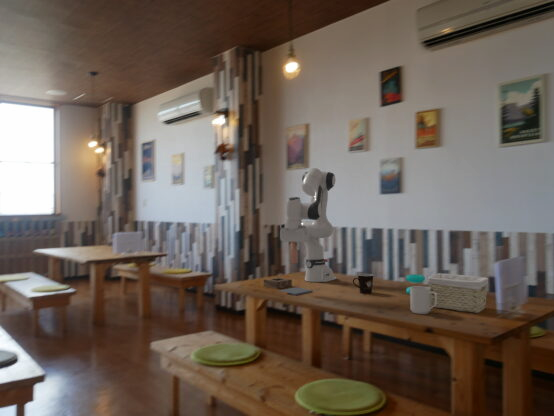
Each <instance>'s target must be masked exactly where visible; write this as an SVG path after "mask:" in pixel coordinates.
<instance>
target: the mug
mask: <svg viewBox="0 0 554 416" xmlns="http://www.w3.org/2000/svg"><path fill="white" fill-rule="evenodd" d="M409 287H410V294H409V299H410V300H409V303H410V306H409V309H410V311H411V312H412V313H414V314H418V315H427V314H429V313H430V312H431V311H432V310H431V309H433V308H435V307H434V306H436V305H437V293H435V292H431V291H430V288H429V286H424V285H413V286H412V287H411V286H409ZM431 293H434V294H435V304H434V306H431Z"/></svg>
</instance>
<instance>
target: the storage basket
mask: <svg viewBox="0 0 554 416" xmlns="http://www.w3.org/2000/svg"><path fill="white" fill-rule="evenodd" d="M427 283H428V287H429V288H430V291H431V292H435V293H437V305H436V306H434V304H435V294H434V293H431V307H432V306H434V307H433V308H439V309H444V310H454V311H458V312H469V313H476V314H478V313H480V312H482V311H483V310H484V309H485V308H486V306H487V303H486V302H487V295H488V293H487V291H488V290H487V289H488V284H489V278H488V277H483V276H474V275H465V274H464V275H462V274H456V273H455V274H454V273H441V272H438V273H436V274H432V275H430V276H429V277H428V278H427Z"/></svg>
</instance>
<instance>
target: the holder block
mask: <svg viewBox="0 0 554 416" xmlns="http://www.w3.org/2000/svg"><path fill="white" fill-rule="evenodd" d="M263 287H265V288H271V289H276V290H281V289H284V288H285V289H286V288H292V287H293V280H292V279H291V278H286V277H285V278H284V277H272V278H271V277H270V278H267V279H263Z"/></svg>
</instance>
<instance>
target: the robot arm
mask: <svg viewBox="0 0 554 416" xmlns="http://www.w3.org/2000/svg"><path fill="white" fill-rule="evenodd" d="M301 179H302V180H301V181H302V183H301V188H302V191H303V192H304V194H306V195H308V196H310V197H311V198H310V202H302V200H301V198H300V197H299V196H293V197H289V198H287V200H286V206H285V207H286V208H285V215H286V219H285V220H286V221H285V222H284V223H282V224H280V225H279V227H280V230H279V231H280V232H279V240H280V241H281V242H287V246H288V249H289V250H291V242H297V247H296V250H298V251H299V250H300V247H301V246H302V243H304V245H305V248H306V249H305V250H306V259H305V264H306V267H305V276H304V281H306V282H313V283H319V282H320V283H321V282H322V283H327V282H331V281H334V280H337V276H334V271H333V270H332V268H331V267H330V266H328V265H327V264H326V263H328V262H329V259H328V258H325V259H324V257H325V255H324V246H323V245H322V244H321V243H319V241H318V240H317V238H318V239H325V238H329V237H331V236H332V235H333V233H334V227H333V225H332V223H331V222H330V221H329V220H328V217H327V207H328V199H329V197H328V196H329V191H330V190H331V189H333V187H335V184H336V175H335V174H334V173H333V172H330V171H328V172H327V171H322V170H320V169H319V168H315V167H314V168H311V169H309V170H308V171H306V172H304V173H303V174H302V178H301ZM304 220H305V221H304Z"/></svg>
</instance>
